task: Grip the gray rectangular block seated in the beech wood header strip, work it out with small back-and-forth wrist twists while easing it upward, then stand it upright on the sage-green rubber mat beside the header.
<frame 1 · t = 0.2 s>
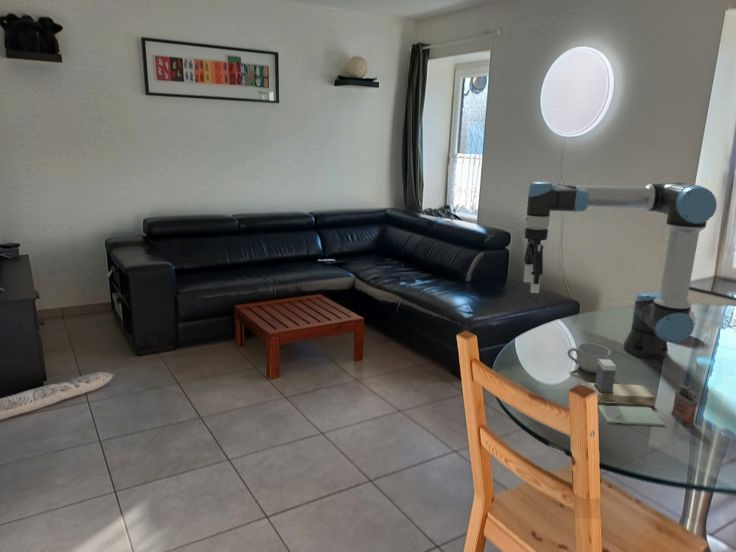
hand: (530, 287, 193), 28 cm above the table, fingers open, 13 cm apart
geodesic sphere: (673, 335, 229), on the table
mat: (629, 415, 162), on the table
teacup: (586, 369, 194), on the table
gray rectangular block: (602, 397, 173), resting in header
header: (615, 398, 173), on the table
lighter: (681, 420, 161), on the table
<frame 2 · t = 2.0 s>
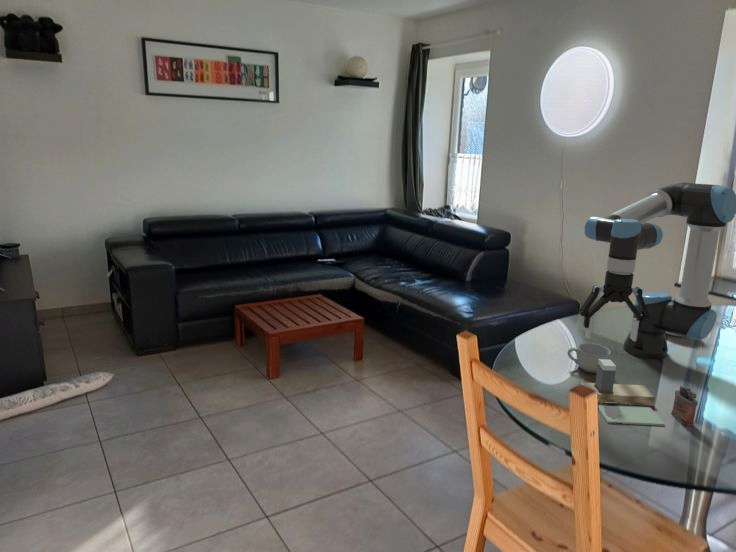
hand: (610, 338, 168), 20 cm above the table, fingers open, 13 cm apart
nothing on the table moved.
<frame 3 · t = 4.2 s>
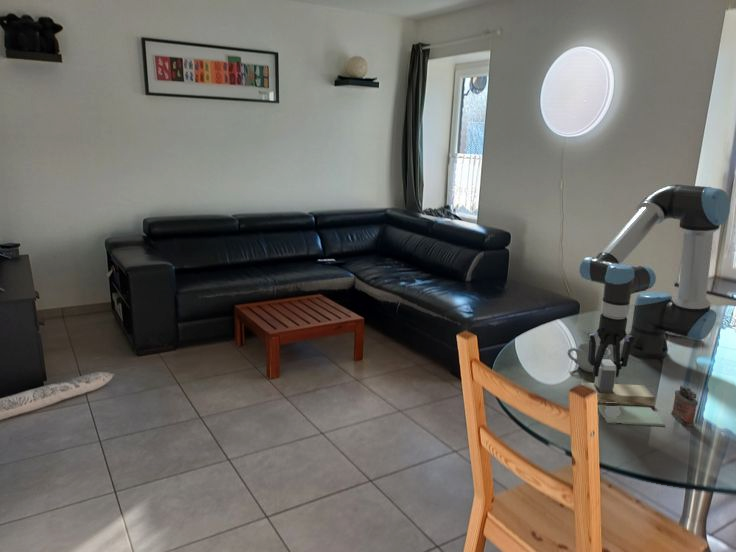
hand: (604, 385, 172), 4 cm above the table, fingers closed on gray rectangular block, 4 cm apart
gray rectangular block: (602, 397, 173), resting in header, touching gripper
everything else where it was.
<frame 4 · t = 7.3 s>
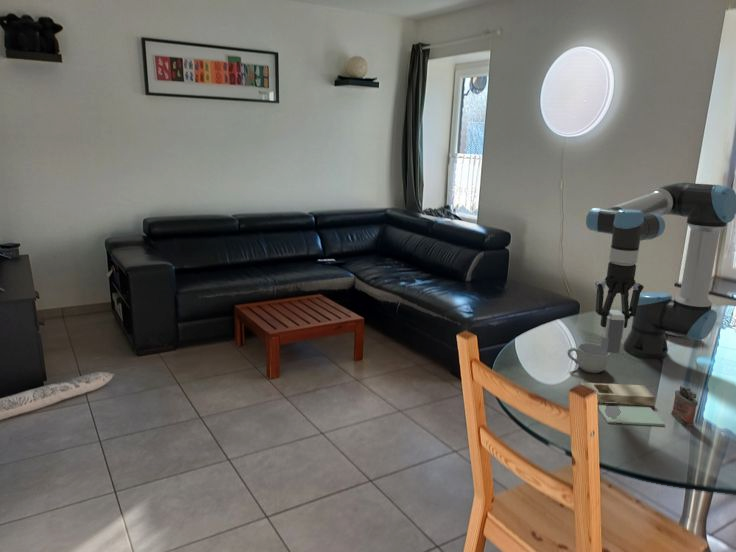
hand: (611, 336, 167), 21 cm above the table, fingers closed on gray rectangular block, 4 cm apart
gray rectangular block: (610, 349, 169), point 17 cm above the table, touching gripper
everything else where it was.
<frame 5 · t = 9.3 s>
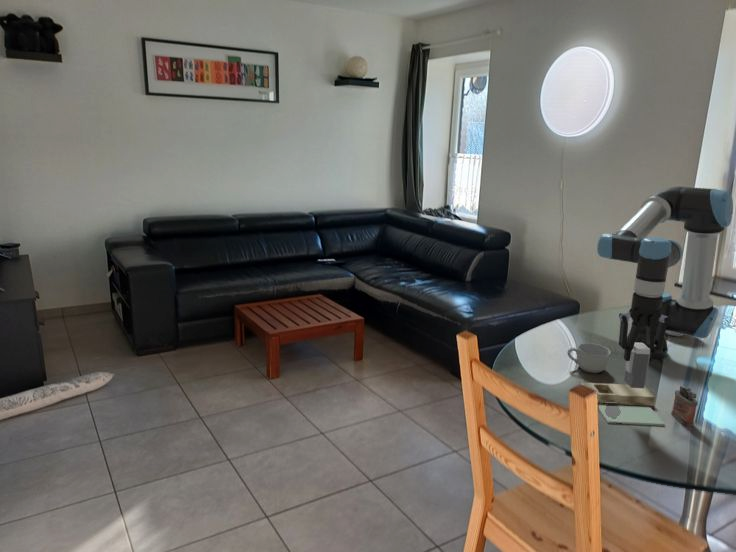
hand: (635, 371, 159), 14 cm above the table, fingers closed on gray rectangular block, 4 cm apart
gray rectangular block: (633, 384, 160), point 10 cm above the table, touching gripper
everything else where it was.
when the fingers open (6 cm above the table, at t = 10.9 s): gray rectangular block drops 2 cm, resting on mat.
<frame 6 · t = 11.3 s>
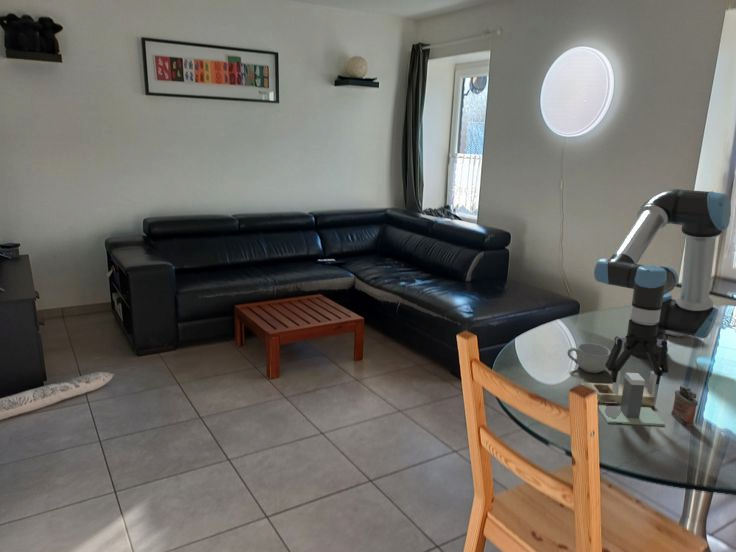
hand: (632, 392, 161), 7 cm above the table, fingers open, 9 cm apart
gray rectangular block: (629, 413, 162), point 1 cm above the table, touching mat
everything else where it was.
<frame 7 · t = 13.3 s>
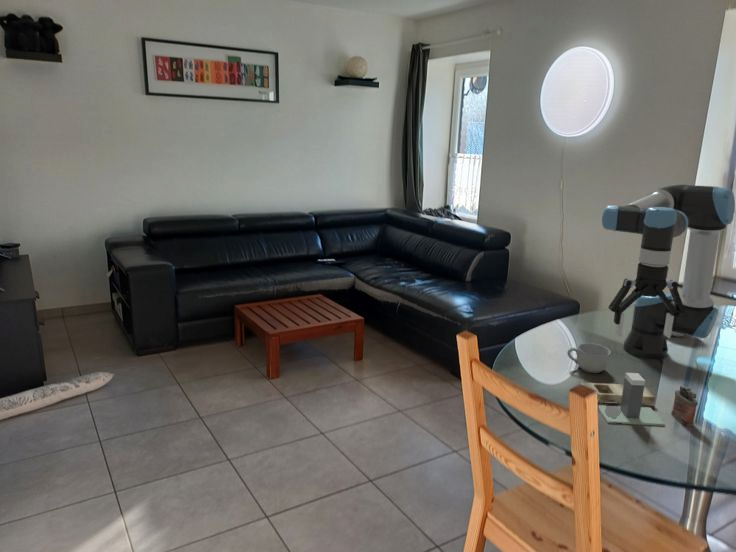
hand: (642, 335, 158), 25 cm above the table, fingers open, 13 cm apart
nothing on the table moved.
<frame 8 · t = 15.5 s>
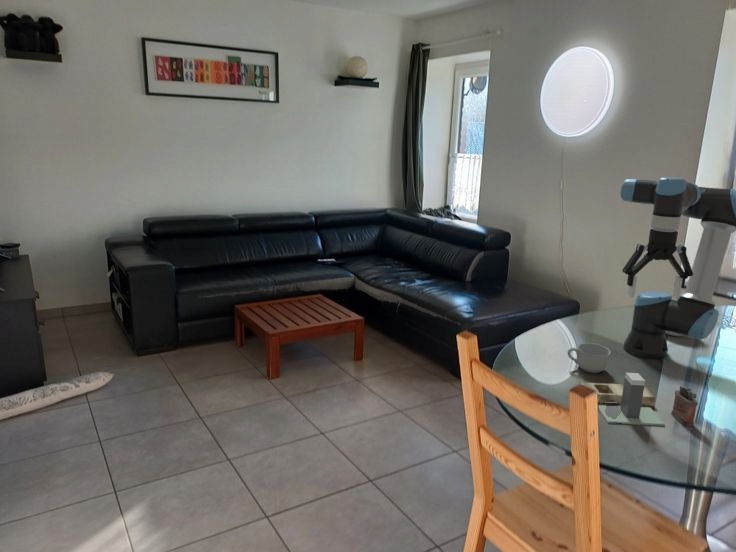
hand: (653, 296, 171), 32 cm above the table, fingers open, 13 cm apart
nothing on the table moved.
at the end: gray rectangular block inside the target area on the mat (0.0 cm from its centre), point 0.6 cm above the mat's base; gray rectangular block tilted 0°; the gripper is holding nothing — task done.
